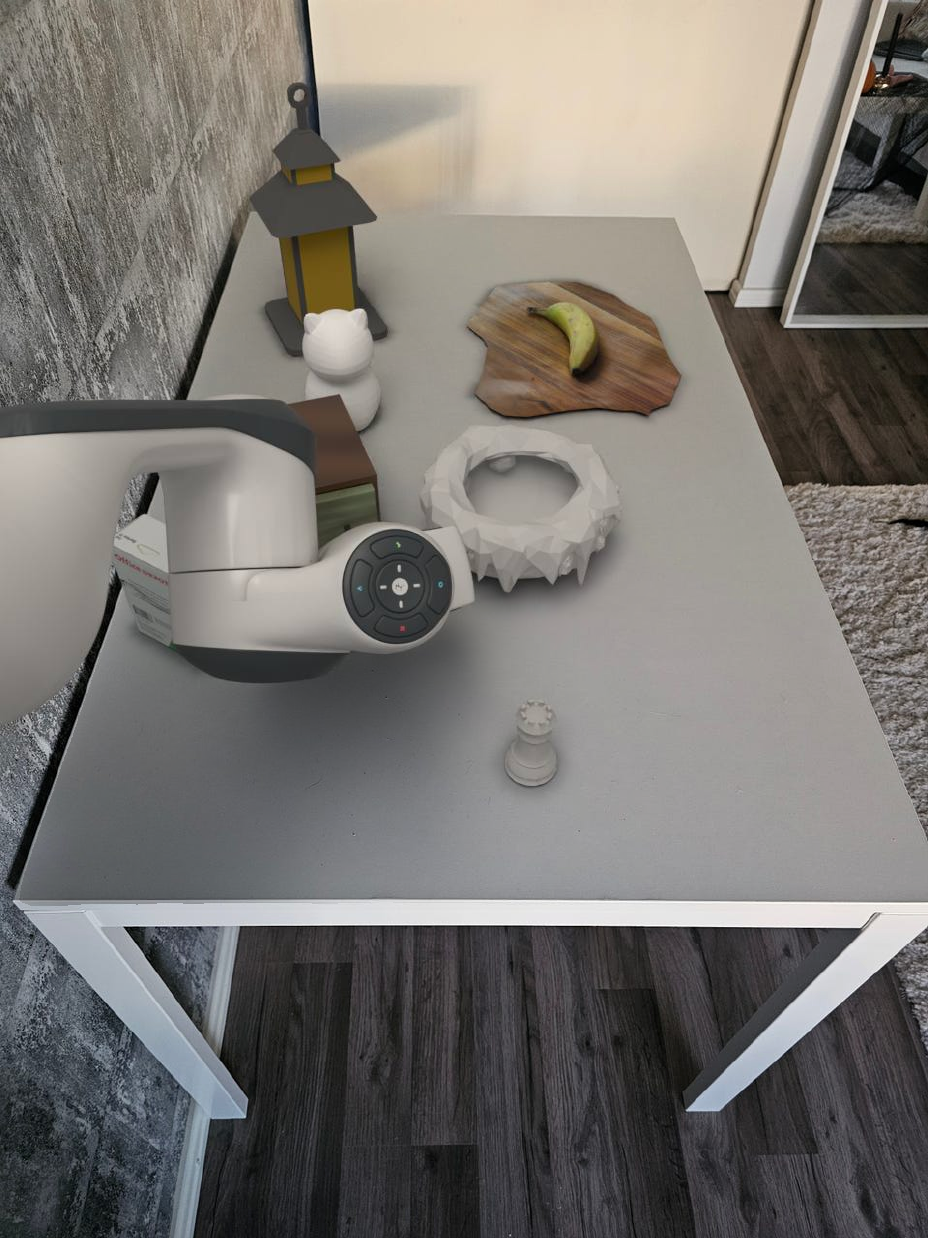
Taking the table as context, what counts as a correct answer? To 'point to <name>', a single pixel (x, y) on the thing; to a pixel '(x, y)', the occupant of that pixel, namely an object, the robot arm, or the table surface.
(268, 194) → the lantern
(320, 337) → the cat figurine
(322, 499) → the drawer
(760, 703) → the table surface
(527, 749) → the rook chess piece
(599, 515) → the bowl
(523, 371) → the cutting board
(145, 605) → the ink box
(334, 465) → the cabinet
